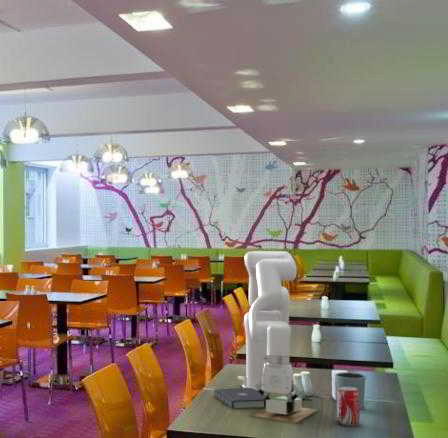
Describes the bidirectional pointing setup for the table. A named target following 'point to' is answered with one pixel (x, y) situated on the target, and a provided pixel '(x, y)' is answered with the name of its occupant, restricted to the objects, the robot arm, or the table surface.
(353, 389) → the soda can
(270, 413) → the mat
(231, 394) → the book
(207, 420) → the table surface
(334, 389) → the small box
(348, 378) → the grey cup
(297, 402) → the packet
